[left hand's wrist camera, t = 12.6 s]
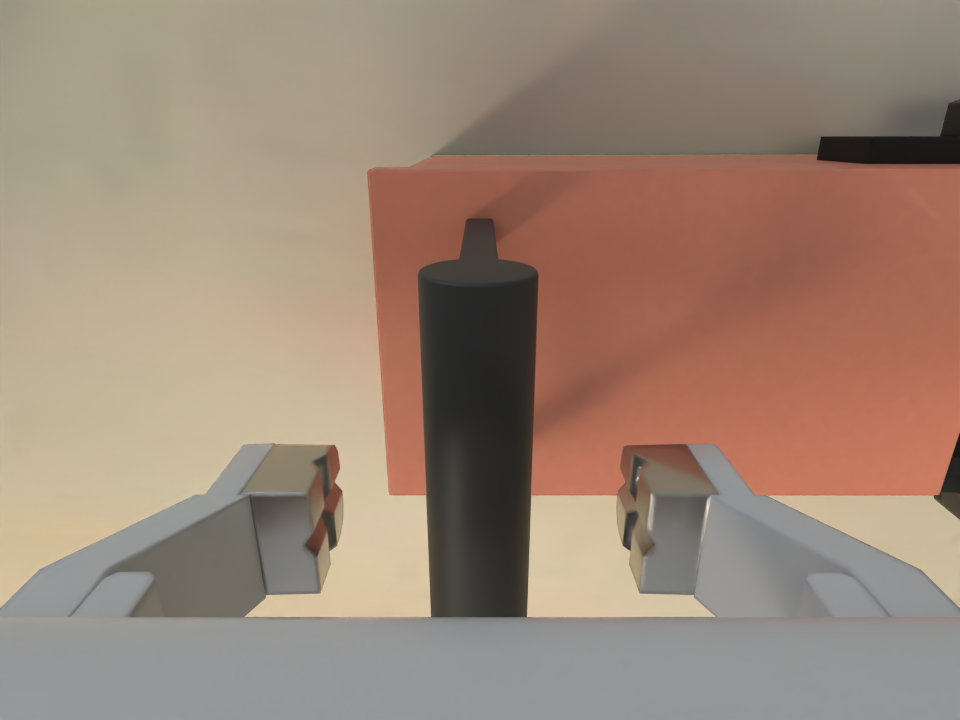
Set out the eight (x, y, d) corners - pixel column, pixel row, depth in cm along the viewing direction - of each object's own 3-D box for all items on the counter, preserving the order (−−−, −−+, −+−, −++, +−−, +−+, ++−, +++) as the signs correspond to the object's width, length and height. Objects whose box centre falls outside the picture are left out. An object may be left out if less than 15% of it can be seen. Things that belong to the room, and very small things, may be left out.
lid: (393, 476, 19) (327, 732, 11) (373, 167, 16) (257, 204, 8) (915, 476, 19) (1240, 733, 11) (1010, 166, 16) (1587, 202, 8)
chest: (438, 371, 28) (420, 475, 19) (432, 154, 24) (406, 166, 16) (782, 371, 28) (914, 475, 19) (825, 154, 24) (1009, 165, 16)
